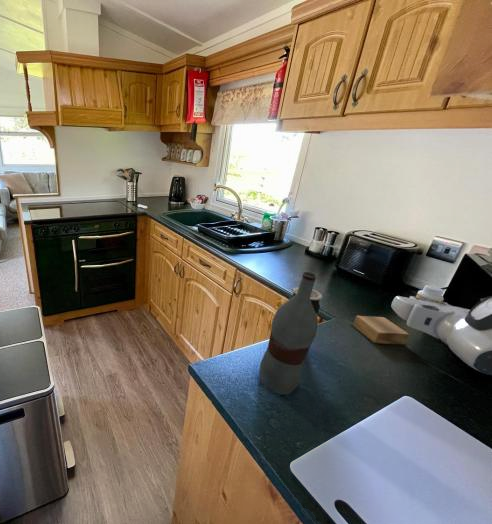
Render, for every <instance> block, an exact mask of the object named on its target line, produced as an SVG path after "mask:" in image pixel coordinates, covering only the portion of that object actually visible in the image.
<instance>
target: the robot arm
mask: <svg viewBox="0 0 492 524" xmlns="http://www.w3.org/2000/svg"><path fill="white" fill-rule="evenodd" d="M390 306H391V309H392V310H393V312H394V313H395V314H396V315H397V316H398V317H399V318H400V319H402V320H404V321H406V323H405V324H406V326H407V327H409V328H410V329H413V330H416V331H419V332H421V333H425V334H427V335H429V336H431V337H433V338H436V339H437V340H440V341H441V342H443V344H445V345H446V346H447V347H448V349H450V351H451V352H452V353H453V354H455V355H456V357H458V358H459V359H460V360H461V361H463V362H464V363H465V364H466V365H468V367H470V368H472V369H474V370H476V371H478V372H479V373H482V374H484V375H489V376H492V295H490V296H488V297H485V298H483V299H481V300H480V301H478V302H477V303H476V304H474V305H473V306H472V307H471V309H468V308H465V307H464V308H463V307H460V306H454V305H451V304H449V303H448V302H445V301H443V302H442V304H437V303H432V302H427V301H422V300H419V299H418V298H417V297H416V296H413V295H410V296H409V297H405V296H400V295H397V296H395V297H394V298H393V300H392V301H391V305H390Z"/></svg>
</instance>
